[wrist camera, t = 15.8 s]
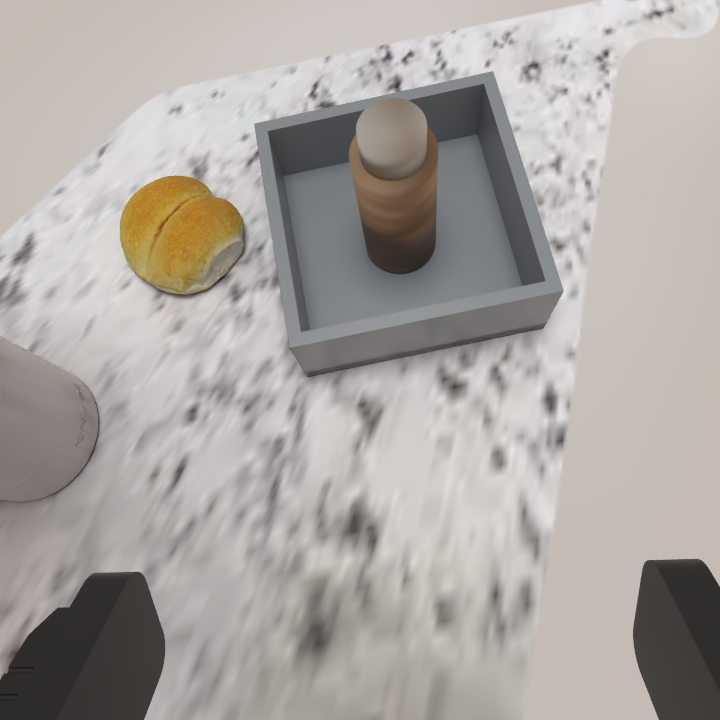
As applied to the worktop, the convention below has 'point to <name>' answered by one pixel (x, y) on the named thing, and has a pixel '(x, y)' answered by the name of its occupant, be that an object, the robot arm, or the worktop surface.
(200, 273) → the bread roll
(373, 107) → the pepper mill
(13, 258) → the worktop surface
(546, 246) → the bin
